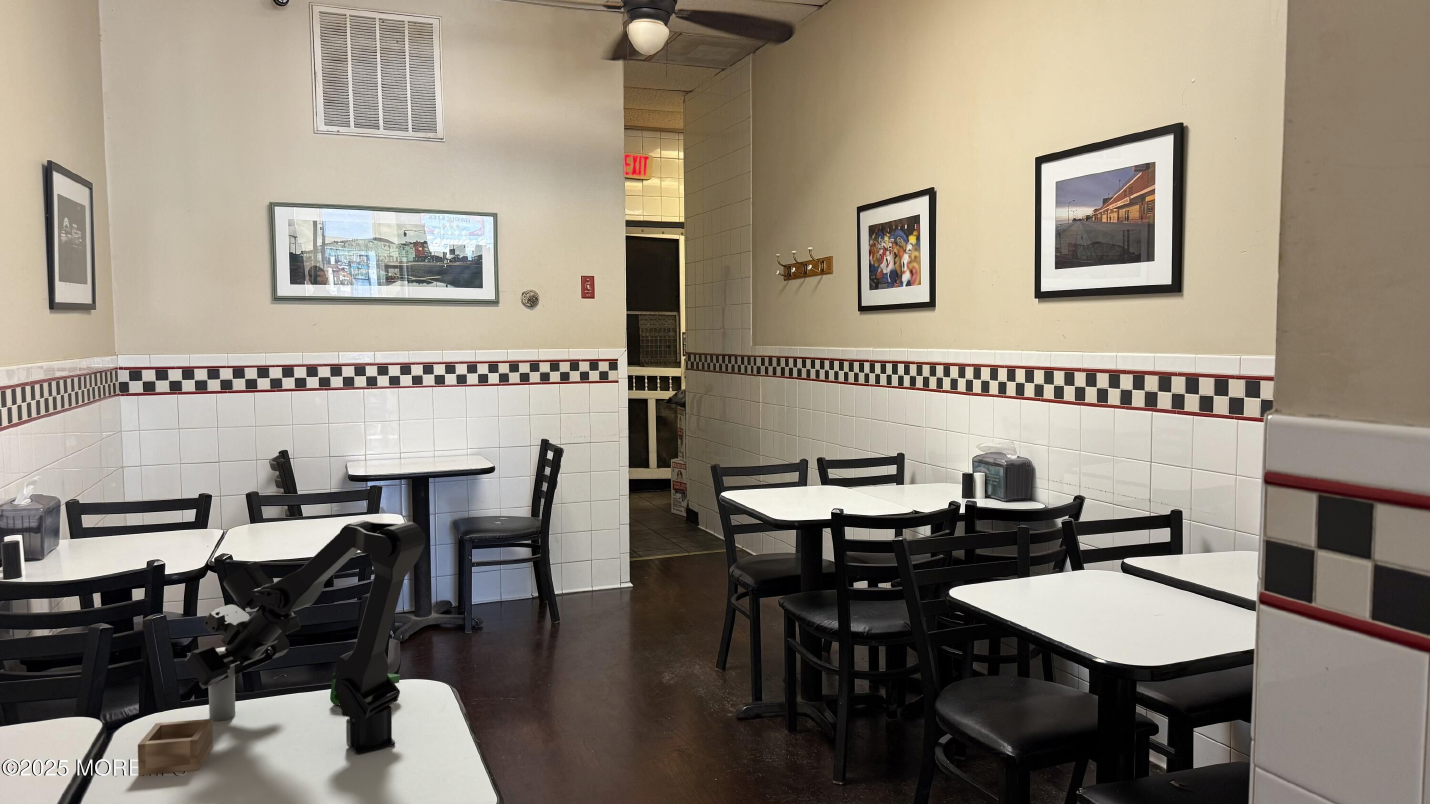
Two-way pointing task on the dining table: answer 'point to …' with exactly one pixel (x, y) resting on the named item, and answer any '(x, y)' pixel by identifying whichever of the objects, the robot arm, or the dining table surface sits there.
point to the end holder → (175, 747)
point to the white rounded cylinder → (222, 696)
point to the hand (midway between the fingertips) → (215, 680)
